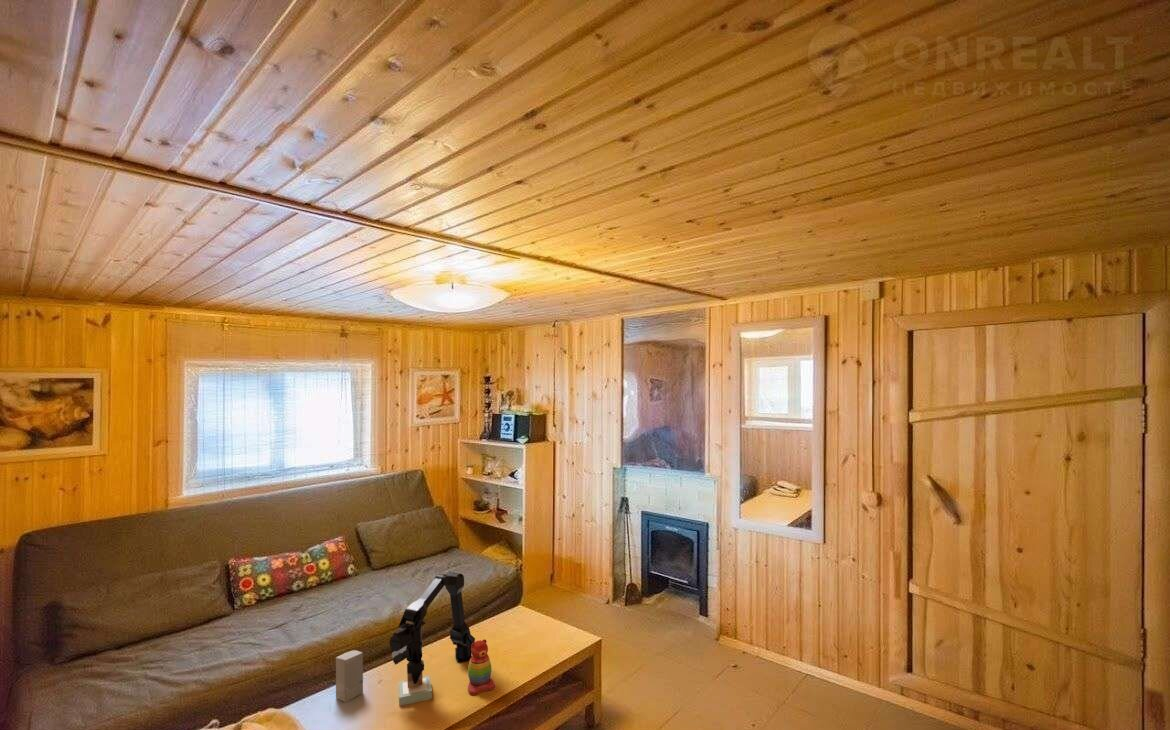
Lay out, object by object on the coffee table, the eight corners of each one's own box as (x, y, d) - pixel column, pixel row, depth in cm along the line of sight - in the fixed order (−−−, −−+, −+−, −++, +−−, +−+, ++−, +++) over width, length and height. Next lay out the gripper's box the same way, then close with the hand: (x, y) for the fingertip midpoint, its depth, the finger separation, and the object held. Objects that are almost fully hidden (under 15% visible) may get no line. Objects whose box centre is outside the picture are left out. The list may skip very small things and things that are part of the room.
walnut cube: (421, 677, 213) (421, 664, 213) (422, 684, 207) (422, 670, 208) (407, 681, 211) (407, 666, 211) (407, 688, 206) (407, 673, 206)
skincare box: (345, 703, 204) (345, 661, 205) (334, 698, 208) (334, 657, 208) (364, 692, 211) (364, 652, 212) (353, 687, 215) (353, 647, 216)
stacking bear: (470, 696, 206) (469, 650, 207) (463, 684, 215) (463, 639, 216) (497, 688, 211) (496, 643, 212) (489, 677, 220) (488, 633, 221)
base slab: (429, 683, 217) (429, 675, 217) (431, 698, 205) (431, 690, 205) (398, 689, 212) (398, 681, 212) (399, 705, 201) (399, 697, 201)
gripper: (392, 633, 216) (393, 672, 215) (393, 654, 198) (393, 697, 198) (421, 628, 220) (421, 666, 219) (423, 648, 202) (424, 690, 202)
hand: (414, 679), depth 209 cm, fingers closed on walnut cube, 5 cm apart
